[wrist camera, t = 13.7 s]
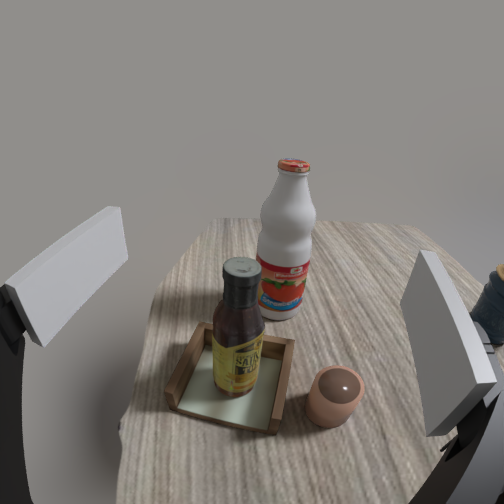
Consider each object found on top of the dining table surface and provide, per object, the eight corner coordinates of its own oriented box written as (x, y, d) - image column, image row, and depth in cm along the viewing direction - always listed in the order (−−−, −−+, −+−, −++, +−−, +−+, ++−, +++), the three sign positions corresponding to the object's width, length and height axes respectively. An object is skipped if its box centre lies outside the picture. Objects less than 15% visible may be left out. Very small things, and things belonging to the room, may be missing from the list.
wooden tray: (289, 360, 45) (294, 340, 43) (276, 435, 33) (281, 419, 31) (201, 342, 48) (199, 321, 45) (169, 409, 36) (163, 391, 33)
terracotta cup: (342, 385, 41) (354, 361, 38) (356, 422, 35) (372, 400, 32) (299, 392, 40) (307, 368, 37) (311, 432, 34) (322, 411, 31)
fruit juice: (288, 287, 62) (307, 155, 48) (308, 316, 55) (336, 170, 41) (246, 294, 60) (255, 155, 46) (261, 325, 52) (277, 169, 38)
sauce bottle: (239, 407, 36) (245, 295, 26) (204, 383, 39) (195, 269, 29) (265, 377, 41) (283, 265, 31) (232, 358, 44) (235, 245, 34)
